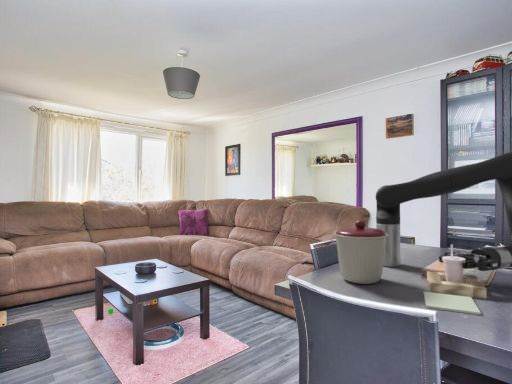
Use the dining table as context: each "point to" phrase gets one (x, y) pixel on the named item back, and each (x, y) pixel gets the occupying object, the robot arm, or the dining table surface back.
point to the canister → (361, 253)
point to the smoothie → (453, 267)
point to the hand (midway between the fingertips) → (451, 261)
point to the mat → (451, 303)
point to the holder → (456, 285)
